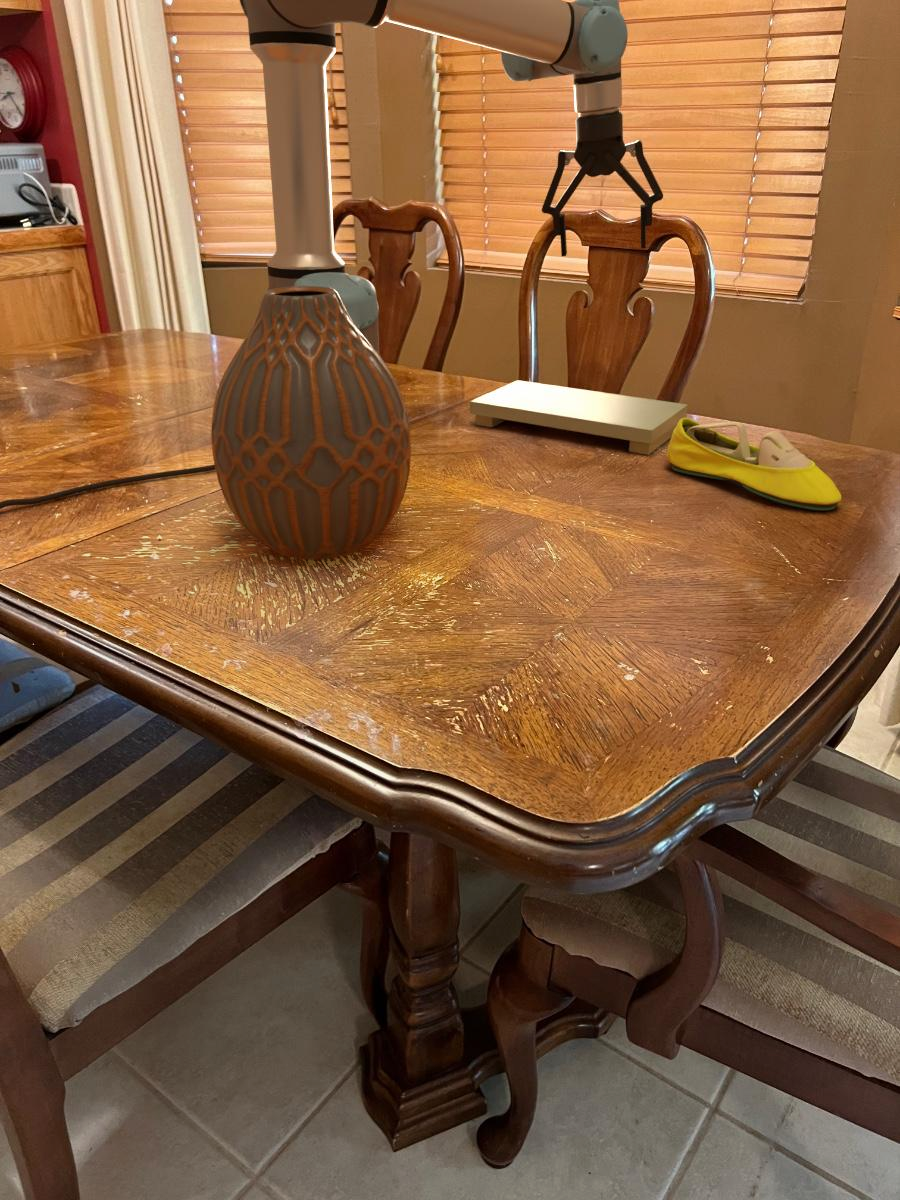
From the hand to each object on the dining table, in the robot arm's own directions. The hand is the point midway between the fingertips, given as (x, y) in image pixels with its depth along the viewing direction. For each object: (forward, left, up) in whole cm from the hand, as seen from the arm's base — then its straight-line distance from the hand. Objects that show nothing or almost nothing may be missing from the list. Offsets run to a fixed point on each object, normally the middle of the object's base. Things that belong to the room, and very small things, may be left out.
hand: (603, 251), depth 150 cm
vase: (-82, -2, -23) cm, 86 cm away
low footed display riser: (-27, -9, -23) cm, 37 cm away
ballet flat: (-40, -39, -23) cm, 61 cm away
